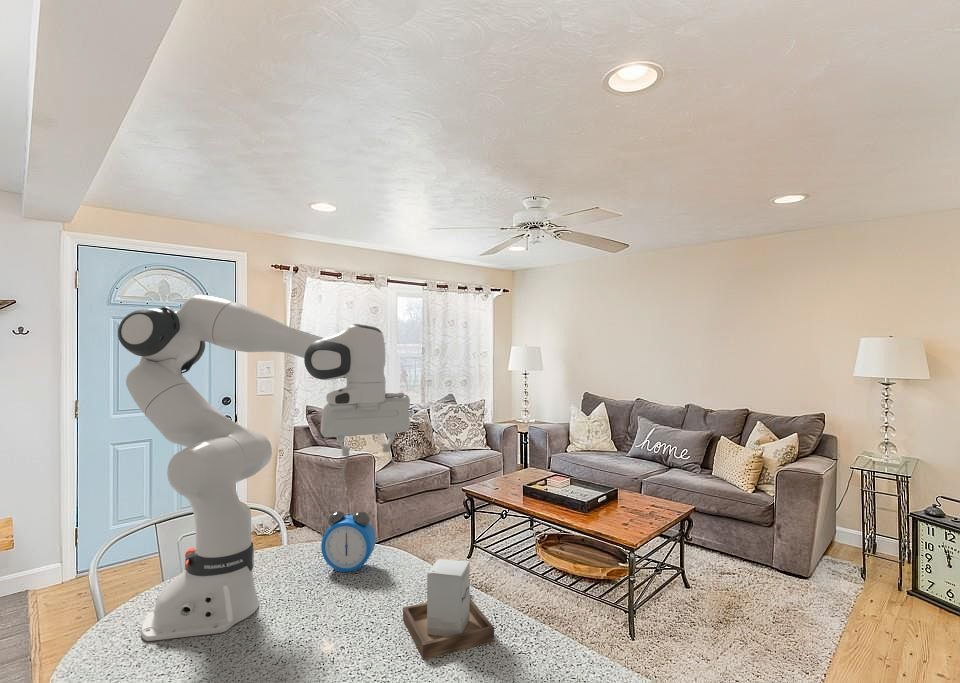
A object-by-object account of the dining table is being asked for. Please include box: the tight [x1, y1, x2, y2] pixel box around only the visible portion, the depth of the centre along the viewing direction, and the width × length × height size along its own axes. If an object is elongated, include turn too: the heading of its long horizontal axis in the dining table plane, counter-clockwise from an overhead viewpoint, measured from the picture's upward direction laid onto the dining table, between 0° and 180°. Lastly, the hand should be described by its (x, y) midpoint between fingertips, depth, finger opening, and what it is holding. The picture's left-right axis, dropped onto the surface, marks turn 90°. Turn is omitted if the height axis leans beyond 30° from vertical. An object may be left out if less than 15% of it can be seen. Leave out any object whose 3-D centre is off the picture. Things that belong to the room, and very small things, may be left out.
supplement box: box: [426, 558, 471, 637], centre depth 105 cm, size 7×7×13 cm
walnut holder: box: [402, 598, 495, 661], centre depth 105 cm, size 15×15×3 cm
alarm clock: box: [320, 510, 377, 573], centre depth 135 cm, size 13×6×15 cm, turn 87°
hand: (366, 453), depth 118 cm, fingers open, 8 cm apart
